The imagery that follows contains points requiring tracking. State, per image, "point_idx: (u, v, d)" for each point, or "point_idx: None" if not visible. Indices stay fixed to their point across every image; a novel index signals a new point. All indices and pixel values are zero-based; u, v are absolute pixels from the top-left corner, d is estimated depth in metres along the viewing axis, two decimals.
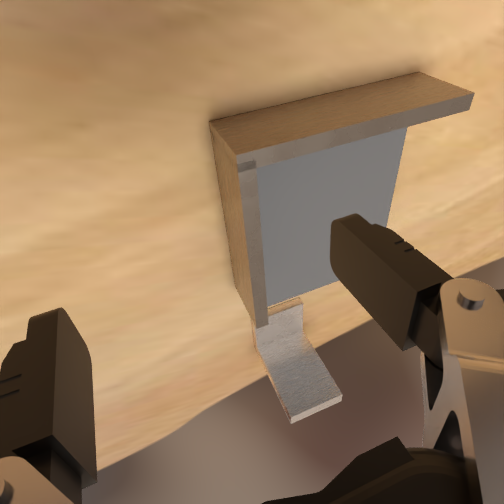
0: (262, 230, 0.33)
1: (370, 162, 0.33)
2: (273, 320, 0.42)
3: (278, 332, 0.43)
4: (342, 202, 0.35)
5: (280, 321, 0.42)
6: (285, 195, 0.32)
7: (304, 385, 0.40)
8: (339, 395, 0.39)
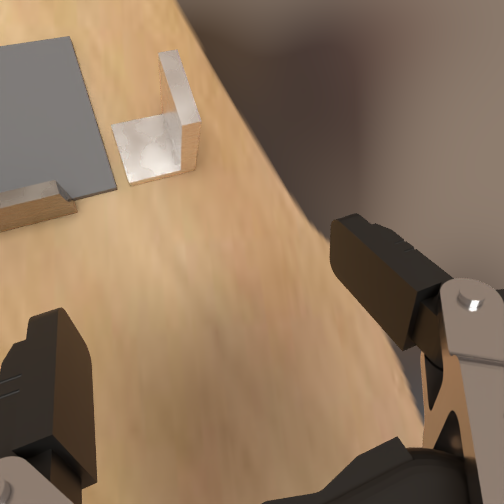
0: None
1: None
2: (133, 158, 0.35)
3: (158, 146, 0.36)
4: None
5: (136, 148, 0.36)
6: None
7: (171, 108, 0.30)
8: (159, 56, 0.28)
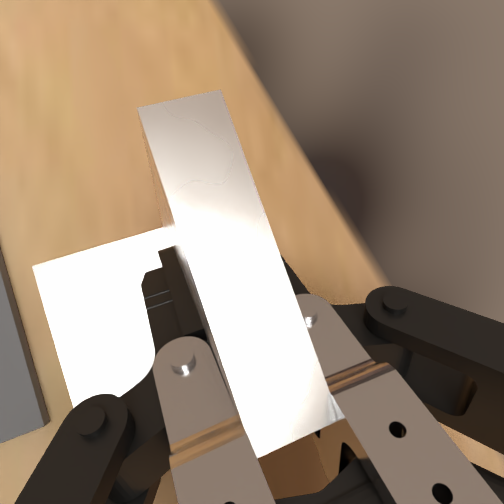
0: None
1: None
2: (89, 351, 0.14)
3: None
4: None
5: (98, 324, 0.14)
6: None
7: (192, 293, 0.08)
8: (146, 125, 0.06)
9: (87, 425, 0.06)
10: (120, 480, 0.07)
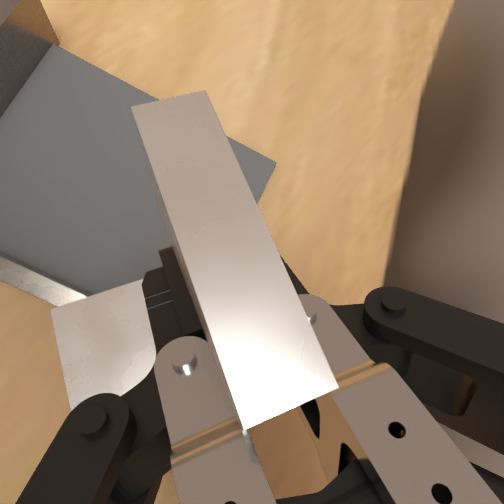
0: (70, 253, 0.27)
1: (96, 111, 0.29)
2: None
3: None
4: (122, 158, 0.29)
5: (110, 365, 0.14)
6: (49, 207, 0.27)
7: (190, 294, 0.08)
8: (138, 120, 0.07)
9: (89, 424, 0.06)
10: (121, 479, 0.07)
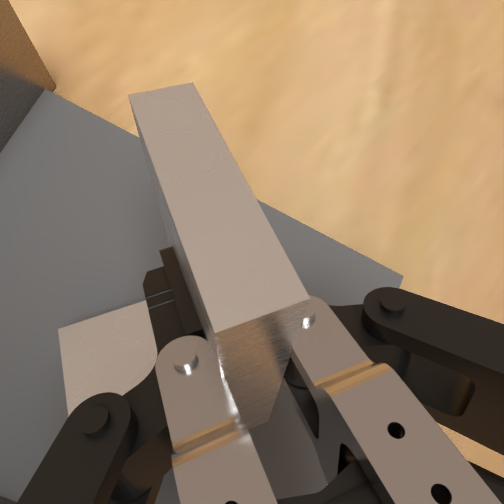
0: None
1: (117, 202, 0.17)
2: None
3: None
4: None
5: (112, 383, 0.13)
6: (34, 381, 0.15)
7: (181, 266, 0.09)
8: (134, 104, 0.08)
9: (90, 424, 0.06)
10: (123, 479, 0.07)
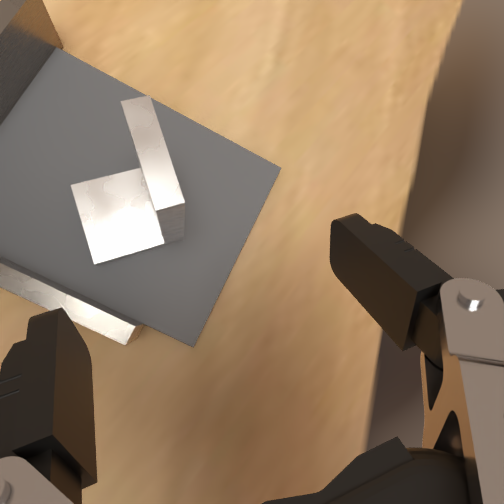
0: (72, 259, 0.27)
1: (100, 115, 0.29)
2: (100, 229, 0.26)
3: (134, 212, 0.27)
4: (125, 163, 0.28)
5: (105, 216, 0.27)
6: (51, 212, 0.27)
7: (143, 175, 0.21)
8: (123, 107, 0.19)
9: None
10: None
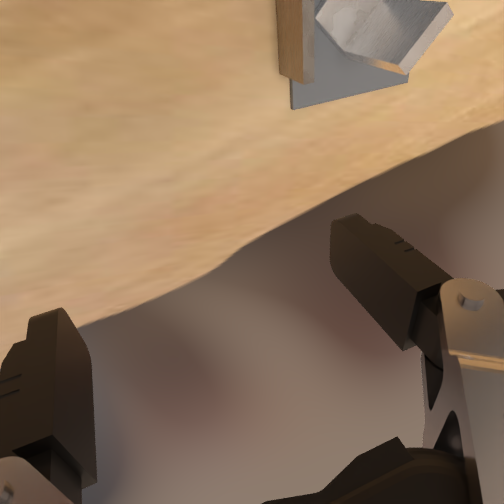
0: None
1: None
2: (335, 3, 0.37)
3: (353, 17, 0.39)
4: None
5: (344, 0, 0.37)
6: None
7: (401, 33, 0.34)
8: (444, 6, 0.32)
9: None
10: None
